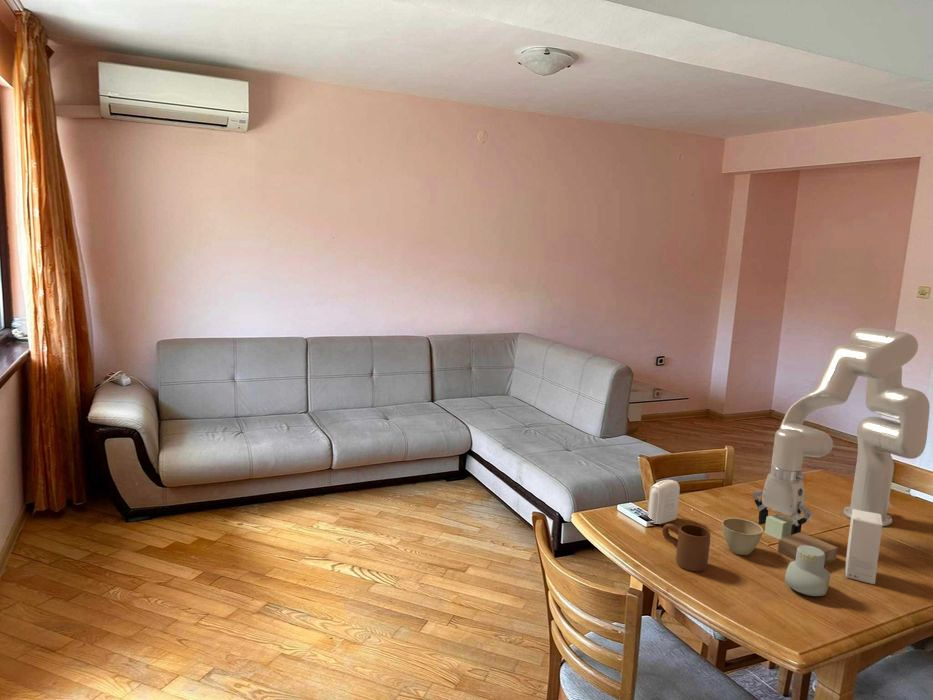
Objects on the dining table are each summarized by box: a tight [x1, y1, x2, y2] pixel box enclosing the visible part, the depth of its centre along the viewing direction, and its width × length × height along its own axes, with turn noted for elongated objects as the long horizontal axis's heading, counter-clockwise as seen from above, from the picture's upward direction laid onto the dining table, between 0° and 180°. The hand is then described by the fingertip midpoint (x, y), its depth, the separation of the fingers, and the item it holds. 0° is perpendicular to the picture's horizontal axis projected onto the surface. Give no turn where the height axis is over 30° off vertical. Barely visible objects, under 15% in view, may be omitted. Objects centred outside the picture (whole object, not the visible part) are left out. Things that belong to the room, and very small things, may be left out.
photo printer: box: [646, 479, 681, 525], centre depth 182 cm, size 10×4×12 cm, turn 123°
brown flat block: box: [777, 531, 839, 566], centre depth 164 cm, size 10×10×4 cm
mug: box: [661, 523, 711, 573], centre depth 158 cm, size 12×8×9 cm, turn 50°
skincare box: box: [845, 509, 884, 585], centre depth 155 cm, size 8×7×16 cm
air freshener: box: [784, 545, 831, 597], centre depth 147 cm, size 11×8×10 cm
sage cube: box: [764, 513, 794, 540], centre depth 176 cm, size 5×5×5 cm
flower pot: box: [721, 517, 764, 556], centre depth 166 cm, size 10×10×7 cm
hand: (778, 530), depth 177 cm, fingers open, 9 cm apart
